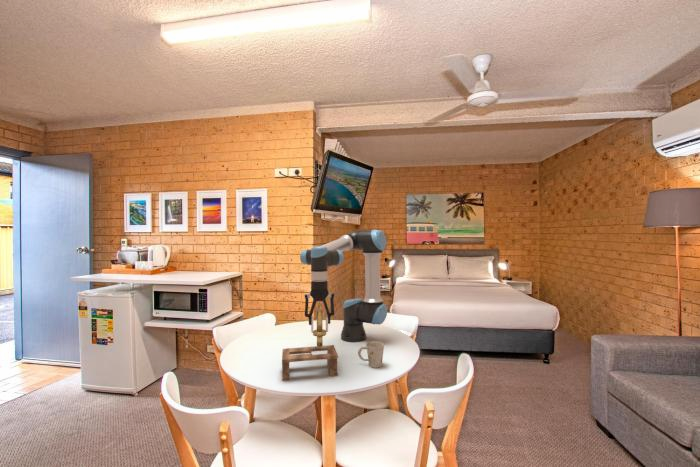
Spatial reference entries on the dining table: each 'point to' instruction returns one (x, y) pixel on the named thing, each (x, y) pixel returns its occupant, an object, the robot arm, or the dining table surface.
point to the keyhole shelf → (309, 358)
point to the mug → (373, 353)
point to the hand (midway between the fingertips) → (319, 331)
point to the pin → (319, 329)
